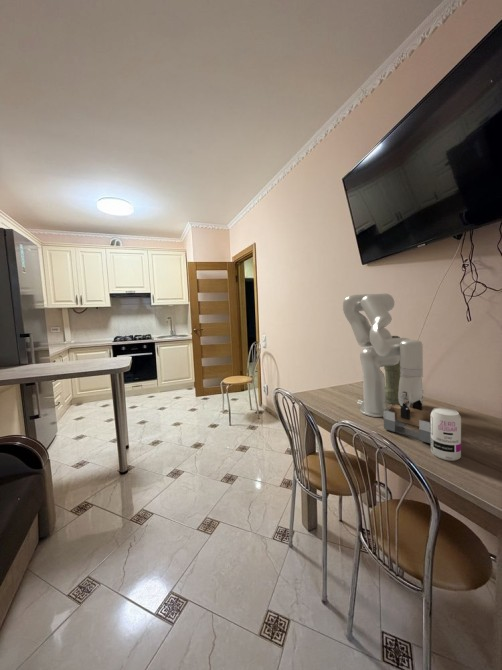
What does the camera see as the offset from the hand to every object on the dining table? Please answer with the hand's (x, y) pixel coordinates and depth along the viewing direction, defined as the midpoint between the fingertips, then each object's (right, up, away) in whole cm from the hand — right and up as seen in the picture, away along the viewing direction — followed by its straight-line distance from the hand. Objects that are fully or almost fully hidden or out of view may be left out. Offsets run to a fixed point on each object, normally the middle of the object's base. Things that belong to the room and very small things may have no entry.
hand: (411, 415), depth 104 cm
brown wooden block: (0, -3, 0) cm, 3 cm away
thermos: (+13, -4, +37) cm, 39 cm away
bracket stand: (0, -8, +1) cm, 8 cm away
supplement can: (+3, -9, -15) cm, 17 cm away
